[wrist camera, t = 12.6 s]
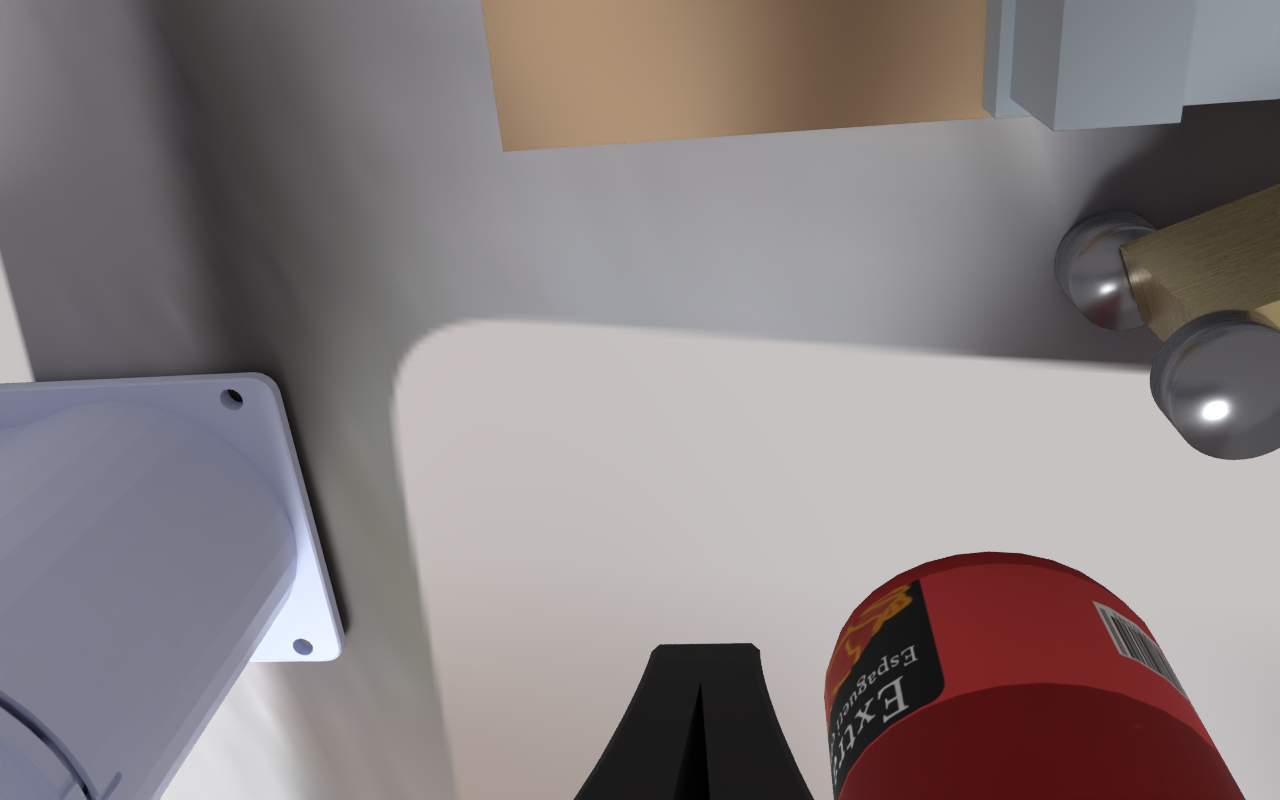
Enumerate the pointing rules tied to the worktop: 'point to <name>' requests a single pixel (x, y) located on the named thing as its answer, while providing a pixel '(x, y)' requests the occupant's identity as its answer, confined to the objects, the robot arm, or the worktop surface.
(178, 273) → the worktop surface
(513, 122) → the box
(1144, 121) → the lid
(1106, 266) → the chrome dome knob
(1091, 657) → the canned food
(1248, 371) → the bar
